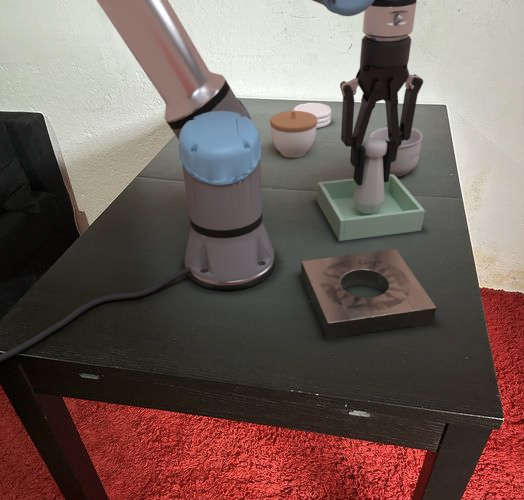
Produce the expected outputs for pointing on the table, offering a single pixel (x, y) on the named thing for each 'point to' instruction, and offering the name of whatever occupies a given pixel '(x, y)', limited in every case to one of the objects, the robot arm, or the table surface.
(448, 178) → the table surface
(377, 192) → the salt shaker
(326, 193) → the green square tray
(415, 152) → the teacup
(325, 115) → the coaster
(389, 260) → the drain plate
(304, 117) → the trinket box
